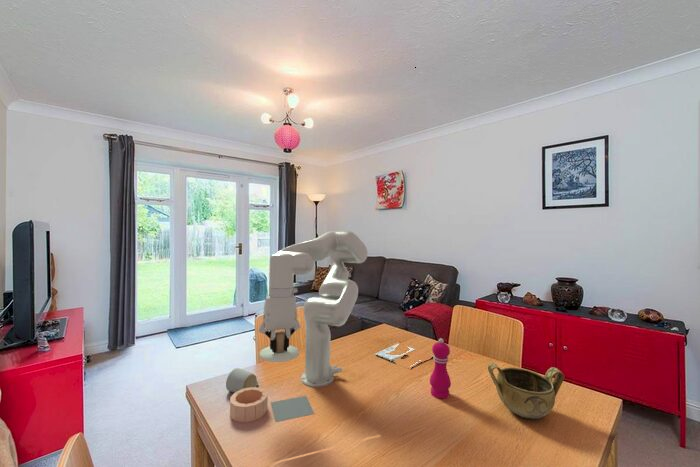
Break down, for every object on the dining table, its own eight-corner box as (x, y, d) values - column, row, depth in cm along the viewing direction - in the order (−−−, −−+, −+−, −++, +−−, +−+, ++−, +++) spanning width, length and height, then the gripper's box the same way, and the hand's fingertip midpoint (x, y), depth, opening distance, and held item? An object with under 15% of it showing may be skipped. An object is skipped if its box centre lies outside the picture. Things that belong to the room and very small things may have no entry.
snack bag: (399, 346, 155) (399, 342, 155) (434, 359, 140) (434, 354, 140) (373, 356, 142) (373, 351, 142) (409, 372, 127) (409, 367, 127)
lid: (293, 348, 106) (294, 325, 106) (302, 362, 95) (303, 336, 95) (257, 352, 101) (257, 329, 101) (262, 367, 90) (263, 341, 90)
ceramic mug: (244, 400, 104) (244, 377, 104) (225, 395, 107) (225, 373, 107) (263, 386, 114) (264, 365, 114) (245, 381, 116) (246, 361, 116)
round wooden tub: (264, 399, 104) (265, 384, 104) (269, 418, 94) (269, 402, 94) (230, 406, 100) (230, 390, 100) (230, 426, 90) (230, 409, 90)
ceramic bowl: (498, 426, 93) (499, 376, 92) (479, 395, 109) (480, 353, 109) (576, 431, 91) (578, 381, 90) (545, 399, 108) (546, 356, 107)
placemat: (306, 396, 106) (306, 395, 106) (314, 414, 96) (314, 413, 96) (270, 403, 102) (270, 402, 102) (275, 423, 92) (275, 422, 92)
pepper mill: (451, 391, 111) (453, 337, 111) (449, 402, 105) (450, 343, 105) (431, 387, 114) (432, 333, 114) (427, 396, 108) (429, 340, 108)
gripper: (302, 289, 104) (301, 343, 104) (252, 291, 98) (251, 349, 98) (309, 293, 98) (307, 351, 98) (256, 296, 91) (254, 358, 91)
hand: (279, 350), depth 98 cm, fingers closed on lid, 3 cm apart
